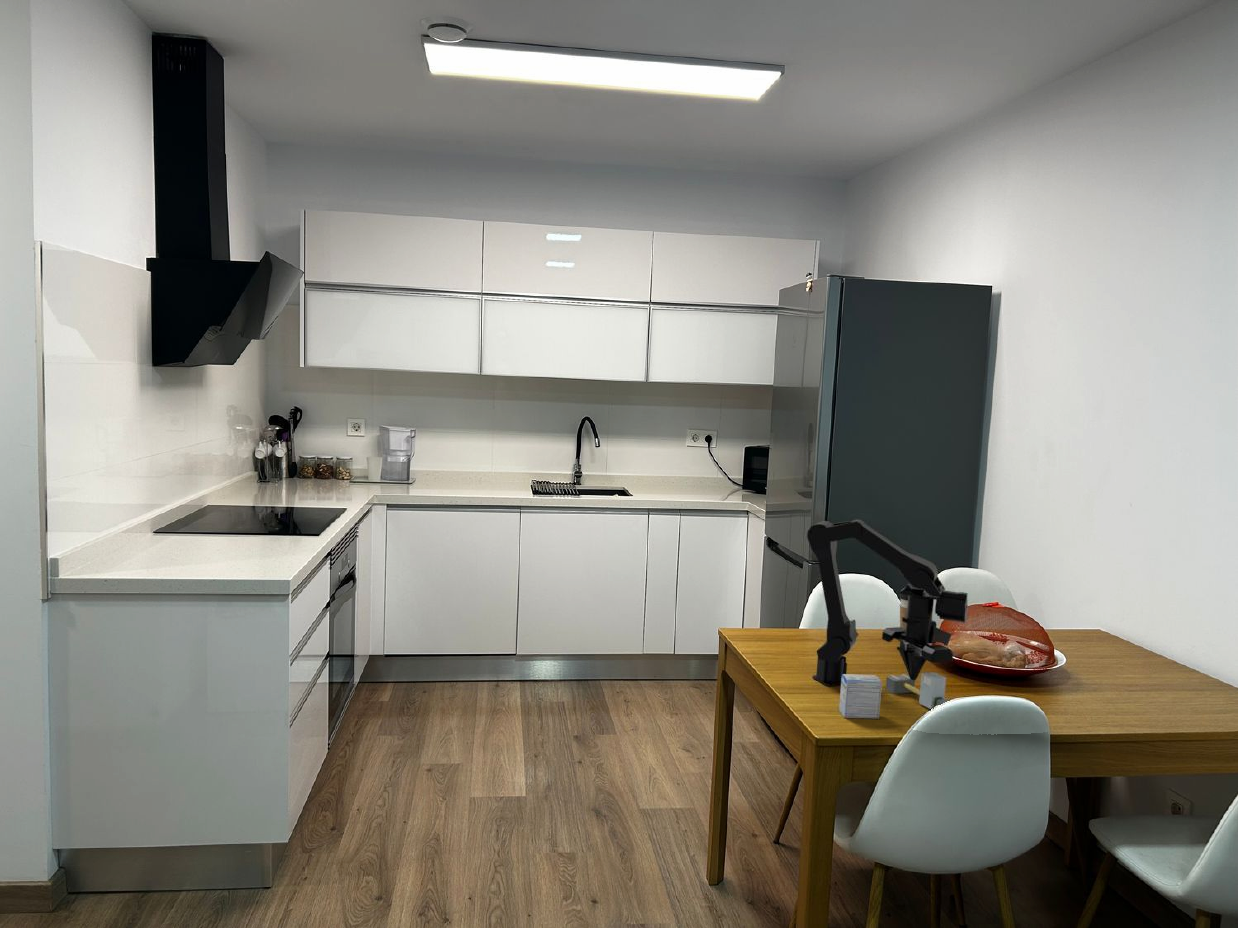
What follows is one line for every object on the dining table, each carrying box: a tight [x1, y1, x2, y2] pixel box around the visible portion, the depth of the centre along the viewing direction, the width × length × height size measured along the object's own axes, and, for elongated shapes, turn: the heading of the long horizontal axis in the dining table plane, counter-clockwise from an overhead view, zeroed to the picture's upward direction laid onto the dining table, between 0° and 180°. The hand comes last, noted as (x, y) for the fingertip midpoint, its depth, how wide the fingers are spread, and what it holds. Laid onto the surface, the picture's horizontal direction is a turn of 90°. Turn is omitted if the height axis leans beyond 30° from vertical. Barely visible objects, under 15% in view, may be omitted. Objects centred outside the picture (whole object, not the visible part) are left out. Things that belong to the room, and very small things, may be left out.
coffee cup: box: [898, 592, 927, 629], centre depth 266 cm, size 8×8×15 cm
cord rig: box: [885, 673, 951, 705], centre depth 215 cm, size 6×19×4 cm, turn 22°
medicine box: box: [838, 673, 883, 720], centre depth 204 cm, size 8×4×9 cm, turn 92°
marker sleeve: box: [918, 671, 947, 710], centre depth 212 cm, size 4×4×7 cm
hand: (913, 679), depth 218 cm, fingers closed
